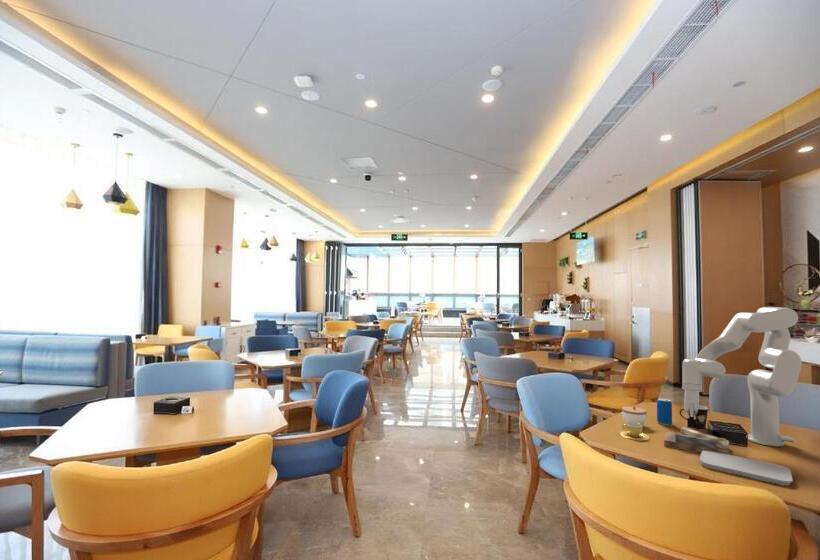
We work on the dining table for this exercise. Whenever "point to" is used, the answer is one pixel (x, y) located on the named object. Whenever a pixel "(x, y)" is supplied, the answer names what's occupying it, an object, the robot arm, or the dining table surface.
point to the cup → (633, 431)
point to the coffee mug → (700, 417)
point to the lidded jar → (634, 415)
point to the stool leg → (705, 437)
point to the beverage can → (664, 411)
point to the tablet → (746, 467)
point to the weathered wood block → (692, 443)
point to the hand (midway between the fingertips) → (691, 427)
